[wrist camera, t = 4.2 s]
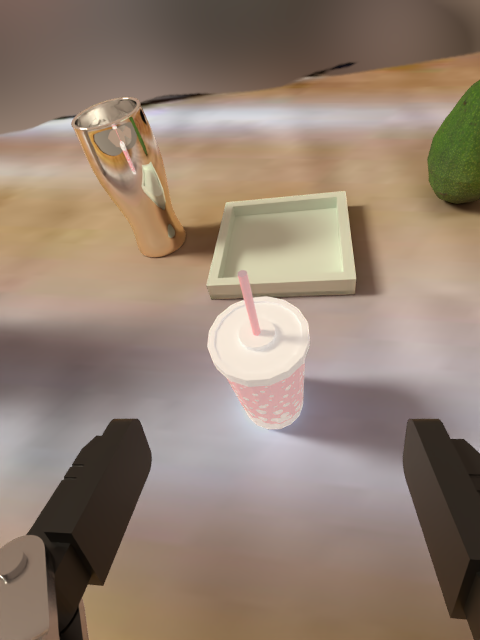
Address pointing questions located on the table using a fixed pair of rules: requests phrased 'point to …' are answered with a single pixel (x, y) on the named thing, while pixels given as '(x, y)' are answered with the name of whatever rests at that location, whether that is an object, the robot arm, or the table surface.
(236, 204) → the tray
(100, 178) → the metal tumbler
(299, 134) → the table surface
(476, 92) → the avocado
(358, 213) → the table surface
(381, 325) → the table surface
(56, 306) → the table surface
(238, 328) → the beverage cup
